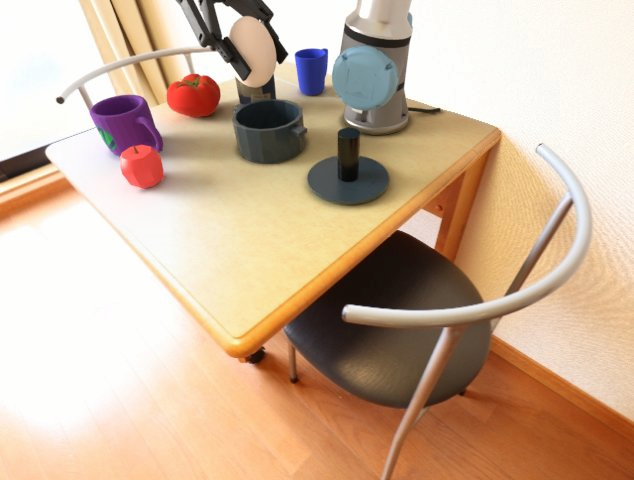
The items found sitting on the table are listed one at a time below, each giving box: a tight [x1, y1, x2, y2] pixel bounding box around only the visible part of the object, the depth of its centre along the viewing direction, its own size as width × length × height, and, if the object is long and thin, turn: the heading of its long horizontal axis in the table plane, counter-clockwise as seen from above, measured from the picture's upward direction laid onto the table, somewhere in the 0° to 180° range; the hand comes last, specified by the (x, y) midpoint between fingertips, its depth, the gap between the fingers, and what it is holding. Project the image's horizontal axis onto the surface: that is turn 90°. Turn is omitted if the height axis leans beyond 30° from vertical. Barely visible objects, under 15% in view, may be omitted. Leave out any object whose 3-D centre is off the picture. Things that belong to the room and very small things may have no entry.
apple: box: [119, 145, 165, 189], centre depth 71 cm, size 8×8×8 cm
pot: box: [231, 98, 308, 165], centre depth 79 cm, size 15×20×8 cm
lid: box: [306, 127, 390, 205], centre depth 67 cm, size 16×16×10 cm
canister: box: [233, 72, 277, 105], centre depth 89 cm, size 10×10×18 cm
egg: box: [227, 16, 278, 88], centre depth 65 cm, size 9×9×12 cm
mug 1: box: [89, 94, 164, 157], centre depth 79 cm, size 17×11×10 cm, turn 55°
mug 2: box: [294, 47, 329, 96], centre depth 100 cm, size 8×12×10 cm
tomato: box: [166, 73, 222, 119], centre depth 92 cm, size 14×13×9 cm
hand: (266, 67), depth 65 cm, fingers closed on egg, 9 cm apart
